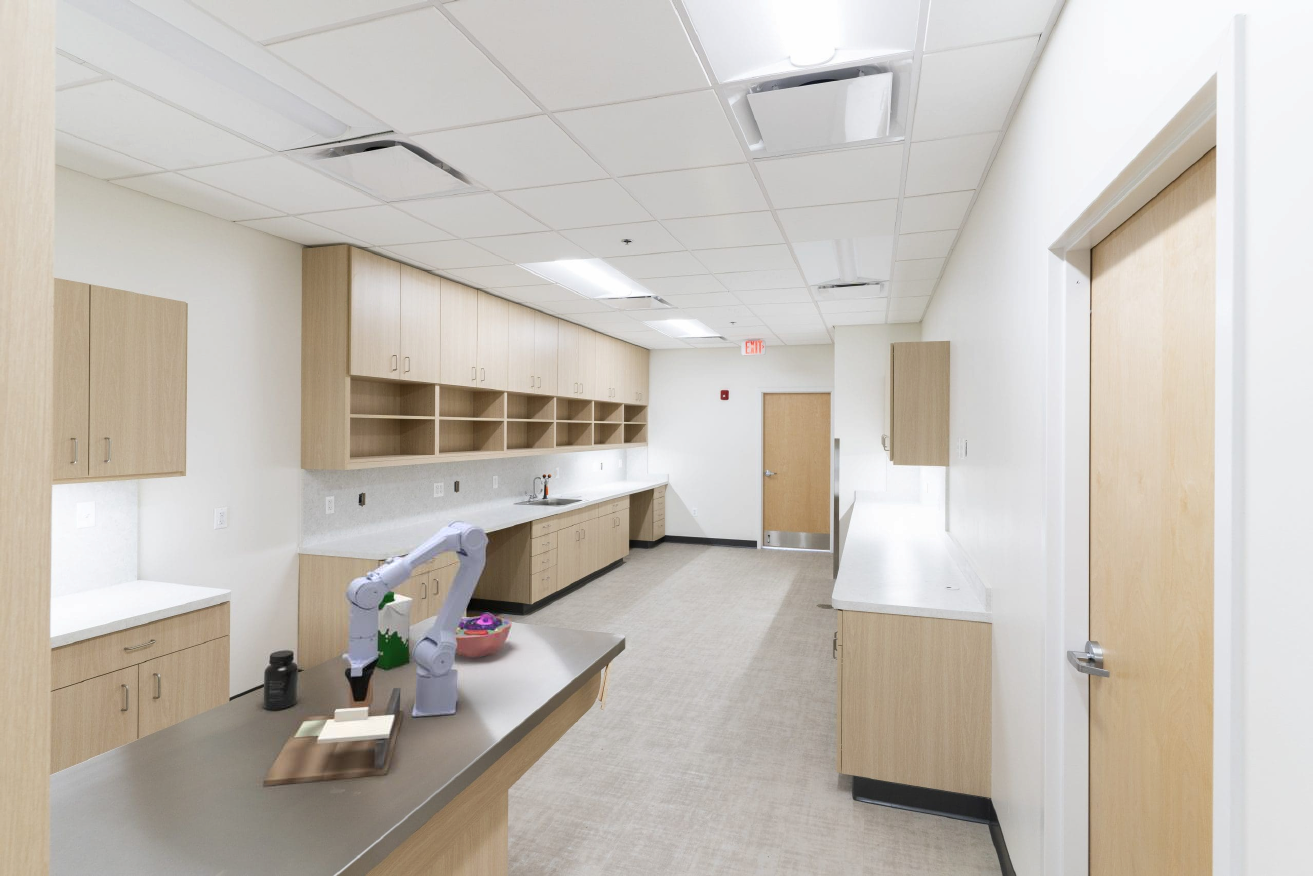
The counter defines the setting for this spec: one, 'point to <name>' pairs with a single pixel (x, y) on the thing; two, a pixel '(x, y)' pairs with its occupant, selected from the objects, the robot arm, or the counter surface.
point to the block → (367, 700)
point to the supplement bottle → (280, 681)
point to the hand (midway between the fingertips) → (361, 696)
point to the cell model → (481, 635)
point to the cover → (355, 726)
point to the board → (334, 752)
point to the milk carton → (393, 630)
